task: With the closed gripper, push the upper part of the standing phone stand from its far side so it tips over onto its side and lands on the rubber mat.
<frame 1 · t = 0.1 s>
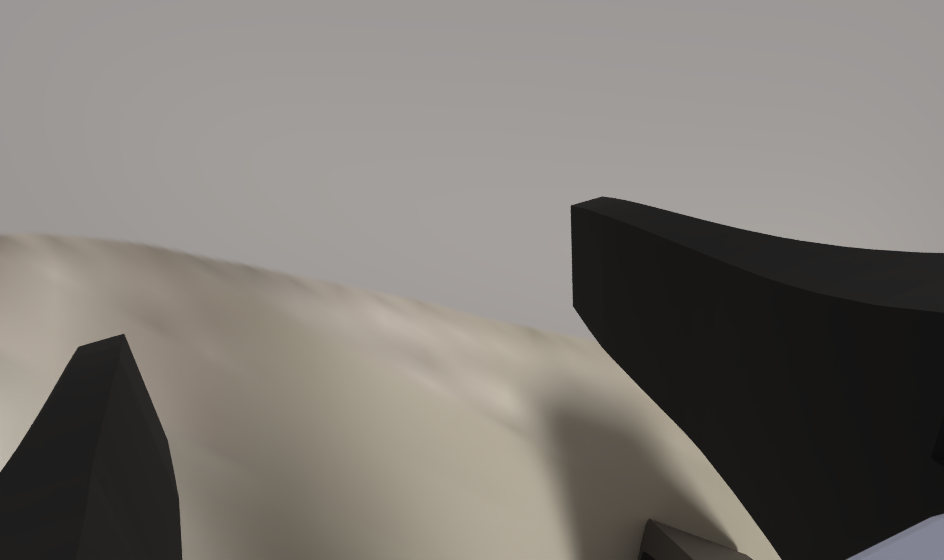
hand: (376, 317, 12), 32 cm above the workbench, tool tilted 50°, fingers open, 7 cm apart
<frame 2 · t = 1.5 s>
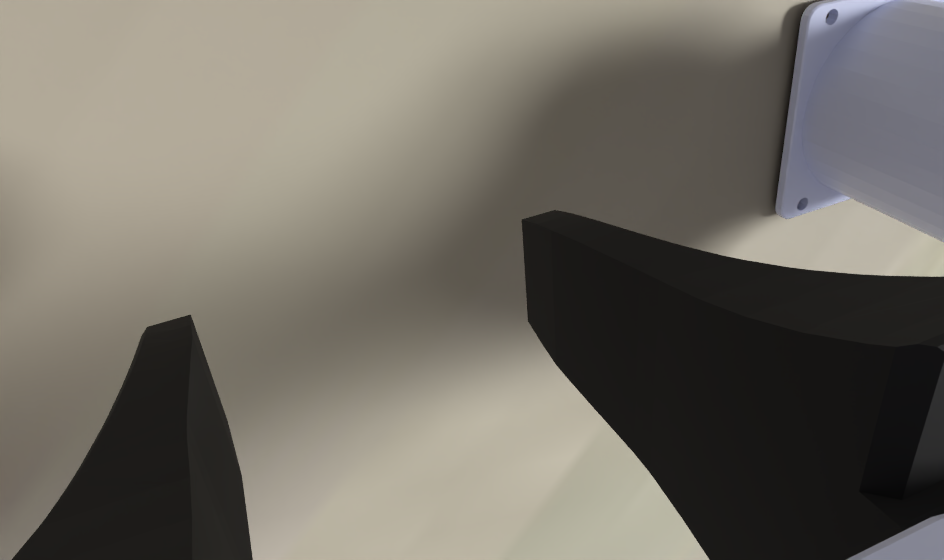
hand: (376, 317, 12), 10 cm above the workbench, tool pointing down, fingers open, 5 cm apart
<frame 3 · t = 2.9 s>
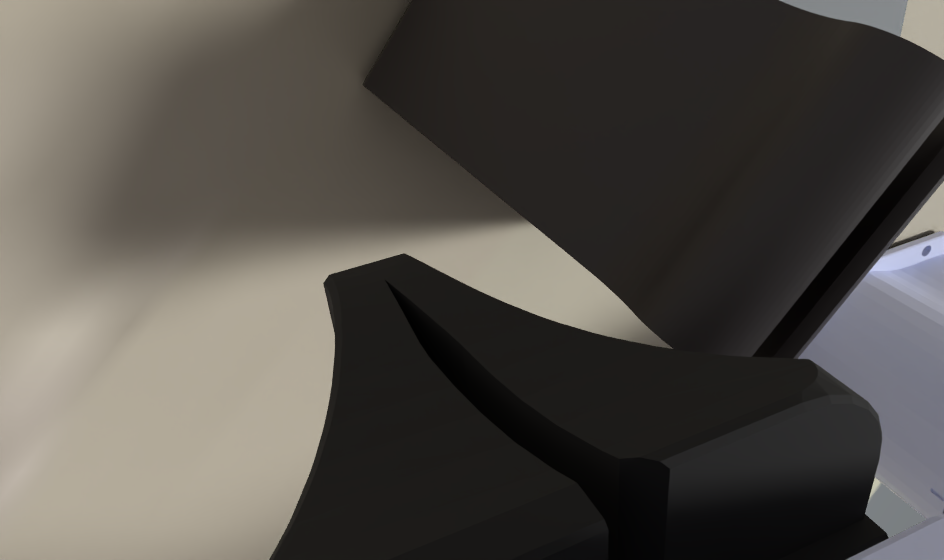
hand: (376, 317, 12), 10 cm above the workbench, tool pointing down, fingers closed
phone stand: (539, 67, 22), on the workbench, touching mat
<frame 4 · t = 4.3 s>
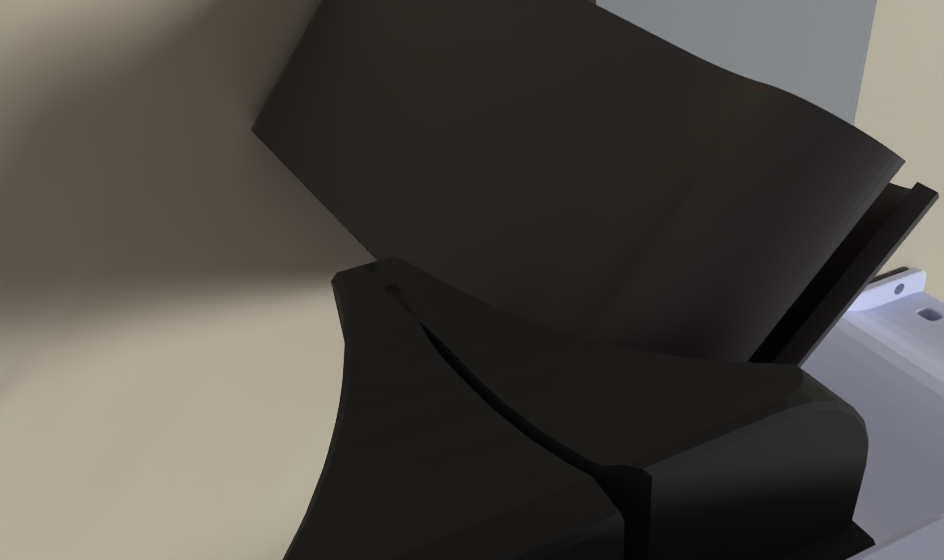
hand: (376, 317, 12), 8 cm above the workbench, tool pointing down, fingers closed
phone stand: (458, 105, 20), on the workbench, touching gripper, mat
mat: (736, 23, 23), on the workbench
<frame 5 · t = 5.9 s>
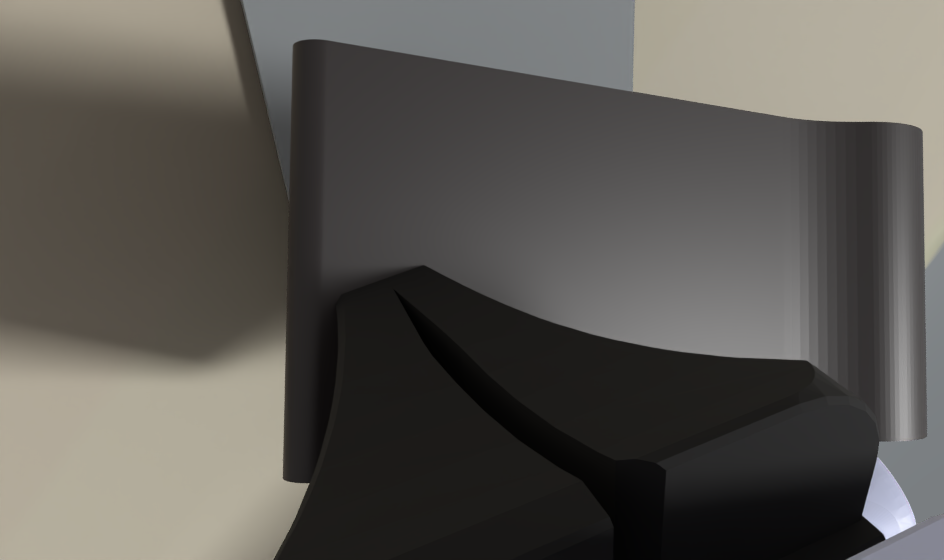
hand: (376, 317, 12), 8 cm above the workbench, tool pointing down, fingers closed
phone stand: (306, 274, 15), point 5 cm above the workbench, touching gripper, mat
mat: (461, 84, 20), on the workbench
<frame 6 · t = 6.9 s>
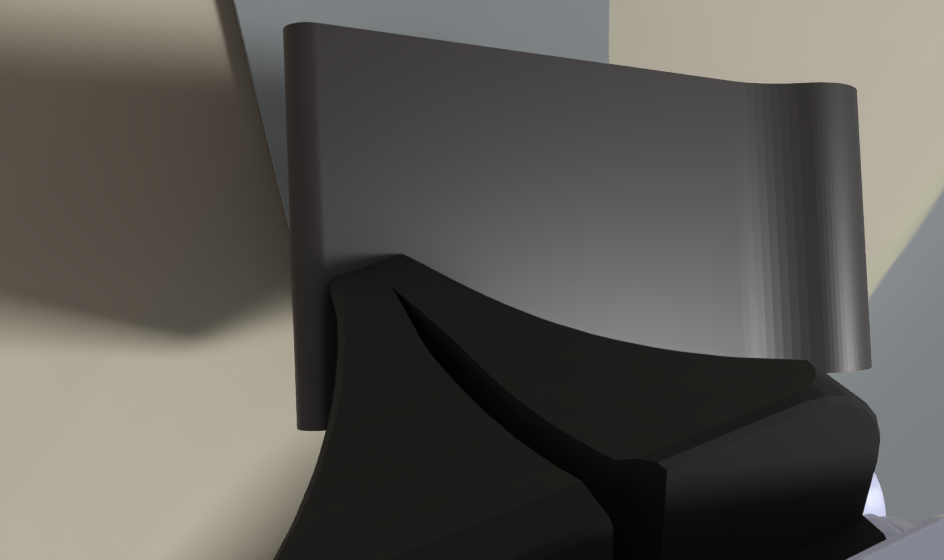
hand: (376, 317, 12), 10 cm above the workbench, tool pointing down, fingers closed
phone stand: (295, 248, 15), point 6 cm above the workbench, touching gripper
mat: (442, 71, 21), on the workbench
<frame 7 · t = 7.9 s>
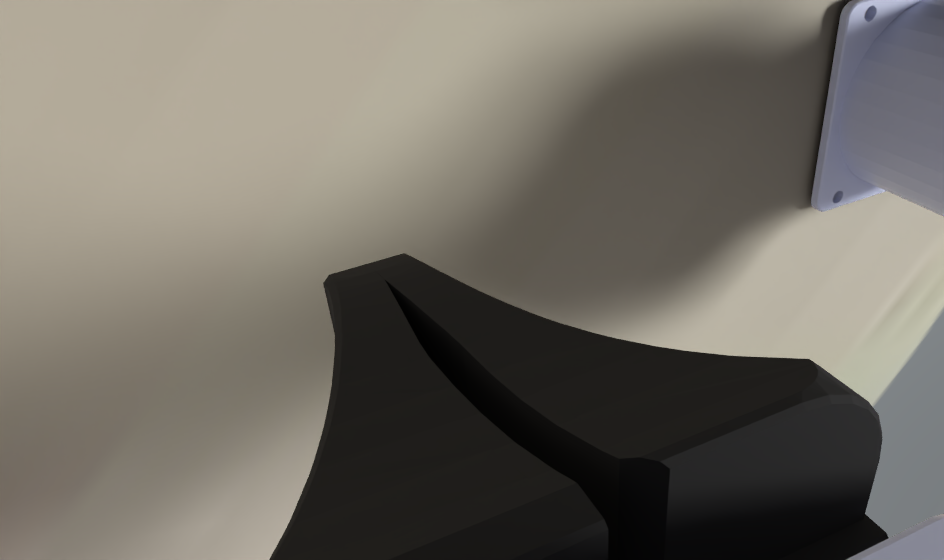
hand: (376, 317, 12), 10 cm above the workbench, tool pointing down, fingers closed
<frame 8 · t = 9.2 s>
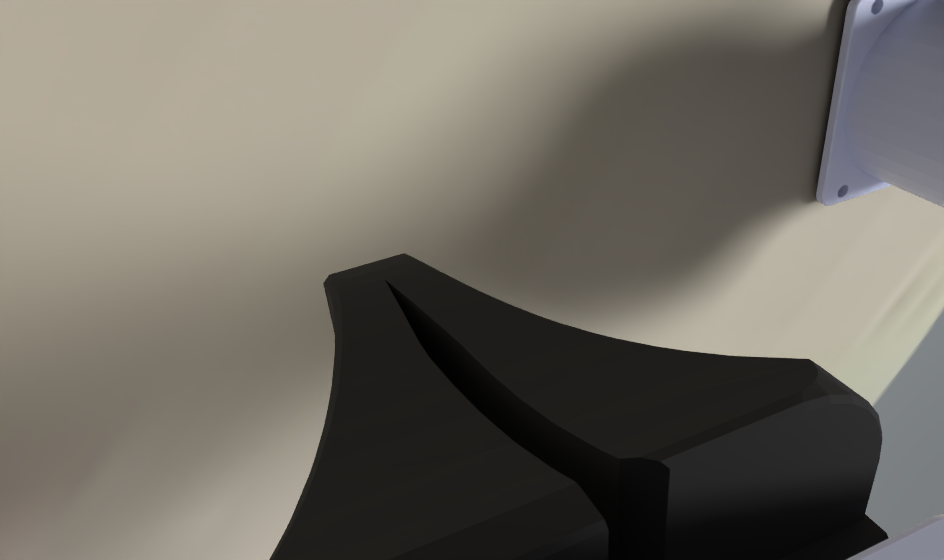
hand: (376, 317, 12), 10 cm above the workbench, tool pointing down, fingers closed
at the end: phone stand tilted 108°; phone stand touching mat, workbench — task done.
